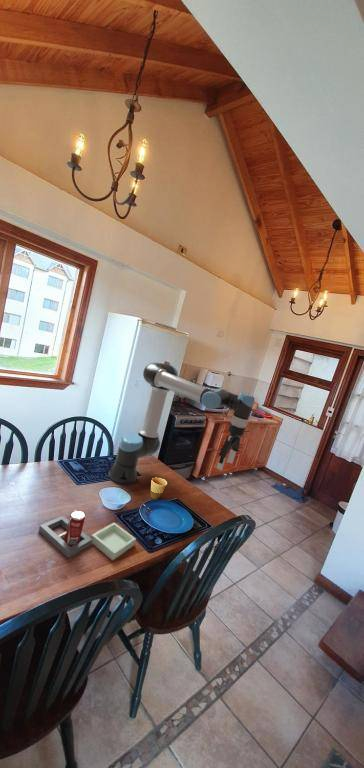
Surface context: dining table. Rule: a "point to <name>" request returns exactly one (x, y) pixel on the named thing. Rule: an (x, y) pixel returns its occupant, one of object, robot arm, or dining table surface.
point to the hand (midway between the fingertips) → (224, 465)
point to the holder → (63, 537)
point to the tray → (113, 540)
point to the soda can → (74, 528)
